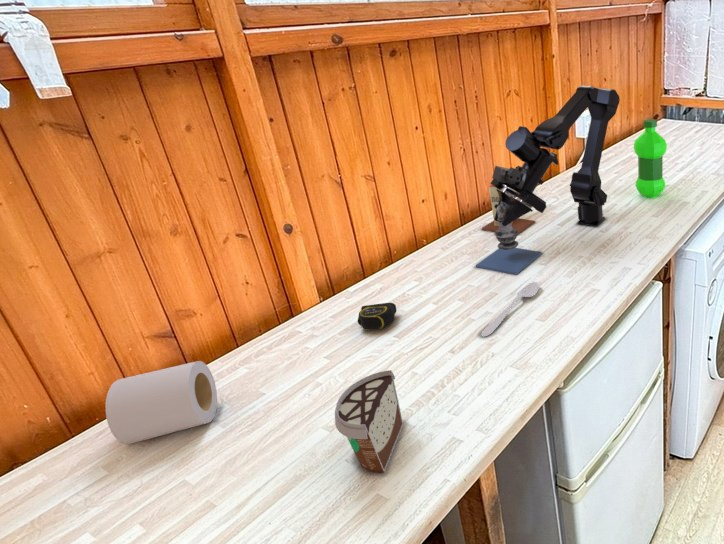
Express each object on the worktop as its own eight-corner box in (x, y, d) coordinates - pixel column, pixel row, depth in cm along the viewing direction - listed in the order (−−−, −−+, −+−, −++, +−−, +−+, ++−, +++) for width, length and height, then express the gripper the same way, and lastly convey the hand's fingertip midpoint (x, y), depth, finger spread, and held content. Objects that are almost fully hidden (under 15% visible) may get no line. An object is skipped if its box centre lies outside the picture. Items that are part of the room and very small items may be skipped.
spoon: (544, 289, 119) (543, 282, 119) (491, 338, 102) (490, 332, 102) (528, 286, 121) (528, 279, 120) (474, 334, 104) (473, 327, 103)
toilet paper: (126, 458, 78) (96, 407, 74) (150, 414, 86) (124, 366, 82) (206, 436, 81) (182, 386, 77) (222, 396, 90) (200, 349, 85)
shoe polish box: (498, 219, 158) (493, 181, 152) (514, 218, 157) (510, 181, 152) (494, 225, 153) (489, 187, 148) (511, 225, 153) (506, 186, 148)
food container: (366, 420, 83) (351, 371, 79) (406, 417, 84) (392, 367, 79) (335, 485, 72) (315, 431, 68) (380, 481, 72) (363, 427, 68)
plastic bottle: (636, 190, 179) (635, 117, 169) (667, 190, 178) (667, 117, 167) (633, 200, 170) (631, 124, 160) (665, 200, 169) (666, 124, 158)
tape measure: (399, 313, 112) (395, 298, 110) (392, 331, 106) (388, 316, 104) (365, 317, 111) (361, 302, 109) (357, 336, 105) (352, 320, 103)
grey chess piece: (522, 240, 134) (516, 196, 129) (516, 250, 129) (509, 205, 124) (500, 240, 135) (493, 196, 130) (493, 250, 130) (486, 205, 124)
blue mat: (541, 254, 136) (541, 252, 136) (516, 274, 126) (516, 272, 126) (503, 247, 141) (503, 245, 140) (476, 267, 131) (475, 264, 130)
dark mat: (534, 222, 156) (534, 220, 156) (516, 235, 148) (516, 233, 147) (501, 217, 160) (501, 215, 160) (481, 229, 152) (481, 228, 152)
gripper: (492, 145, 131) (458, 197, 129) (529, 160, 117) (492, 218, 116) (523, 168, 138) (491, 218, 137) (561, 185, 125) (527, 240, 124)
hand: (499, 223), depth 128 cm, fingers closed on grey chess piece, 3 cm apart
